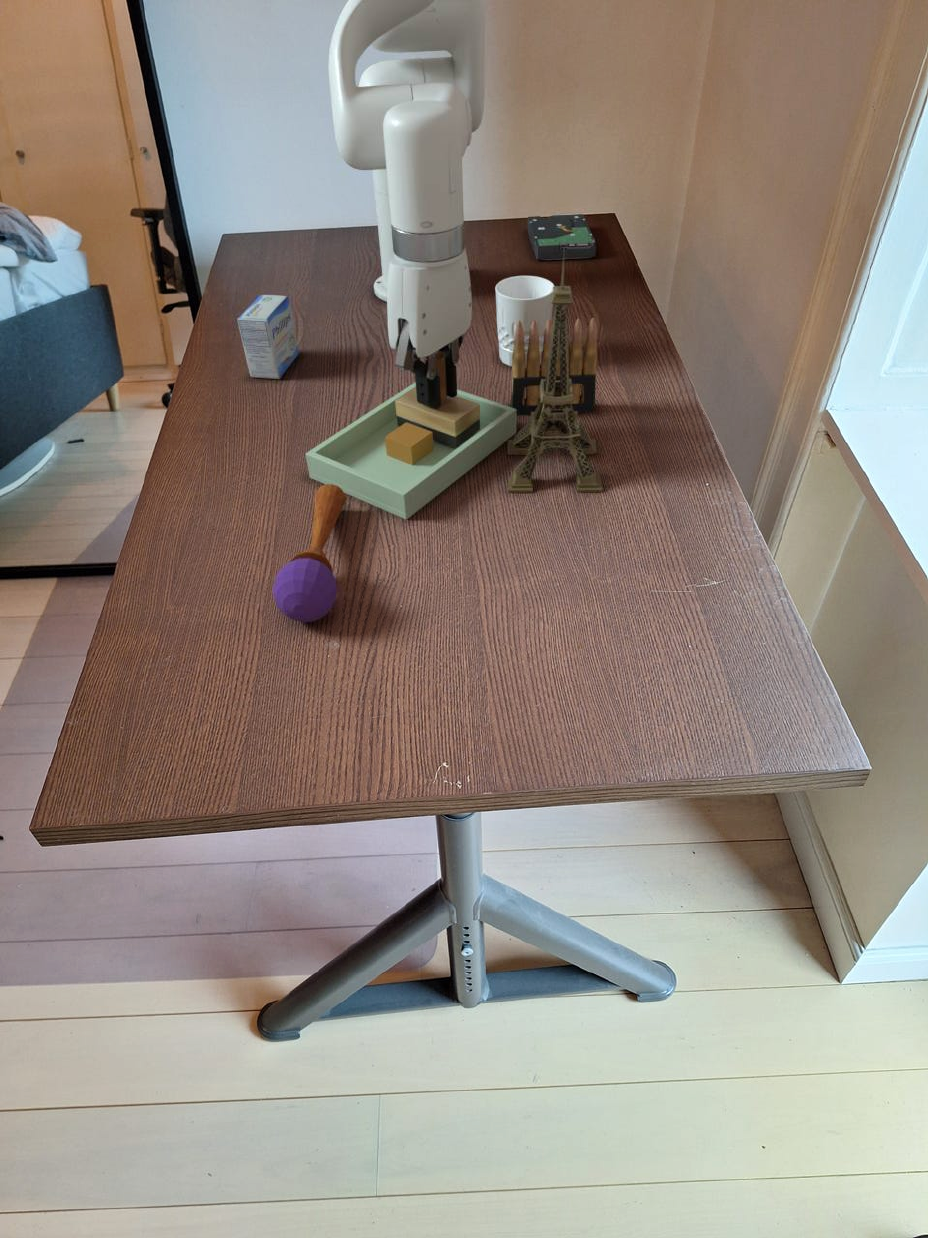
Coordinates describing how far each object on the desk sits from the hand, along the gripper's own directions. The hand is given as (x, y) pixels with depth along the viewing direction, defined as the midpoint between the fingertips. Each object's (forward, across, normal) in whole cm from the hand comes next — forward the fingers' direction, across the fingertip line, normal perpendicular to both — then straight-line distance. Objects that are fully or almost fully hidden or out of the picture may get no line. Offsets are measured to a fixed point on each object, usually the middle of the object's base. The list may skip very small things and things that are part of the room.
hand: (437, 398), depth 101 cm
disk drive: (+5, -63, -21) cm, 67 cm away
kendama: (+6, +27, +5) cm, 28 cm away
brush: (+4, 0, 0) cm, 4 cm away
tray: (+5, +5, 0) cm, 7 cm away
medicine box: (+6, -2, -31) cm, 32 cm away
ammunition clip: (+6, -13, +8) cm, 17 cm away
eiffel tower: (+6, -2, +15) cm, 16 cm away
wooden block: (+5, +6, 0) cm, 7 cm away
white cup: (+6, -23, -3) cm, 24 cm away
